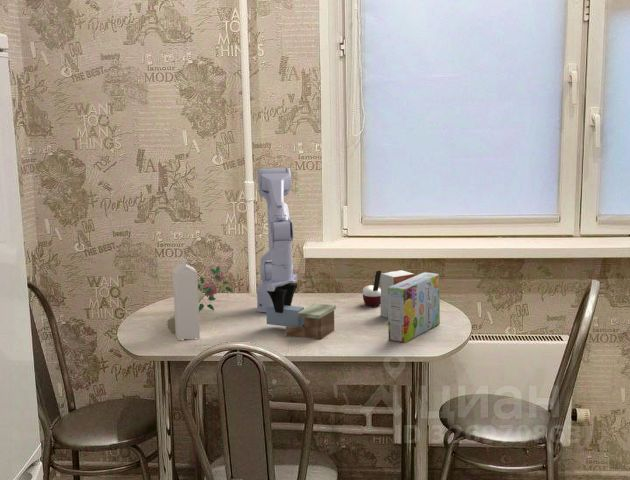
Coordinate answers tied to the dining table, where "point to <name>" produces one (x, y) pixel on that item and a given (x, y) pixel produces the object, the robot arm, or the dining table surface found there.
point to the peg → (284, 316)
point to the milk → (186, 302)
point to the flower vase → (203, 295)
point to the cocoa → (373, 292)
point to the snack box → (413, 307)
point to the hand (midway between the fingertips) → (282, 310)
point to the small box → (388, 281)
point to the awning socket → (314, 322)
